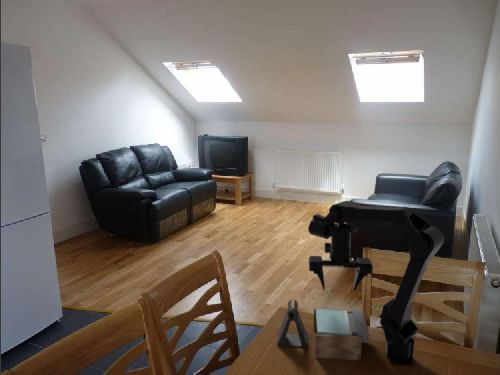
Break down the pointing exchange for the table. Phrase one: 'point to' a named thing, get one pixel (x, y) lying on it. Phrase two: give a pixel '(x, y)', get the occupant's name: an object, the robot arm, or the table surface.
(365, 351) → the table surface
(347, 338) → the trapdoor frame
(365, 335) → the trapdoor
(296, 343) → the phone stand
